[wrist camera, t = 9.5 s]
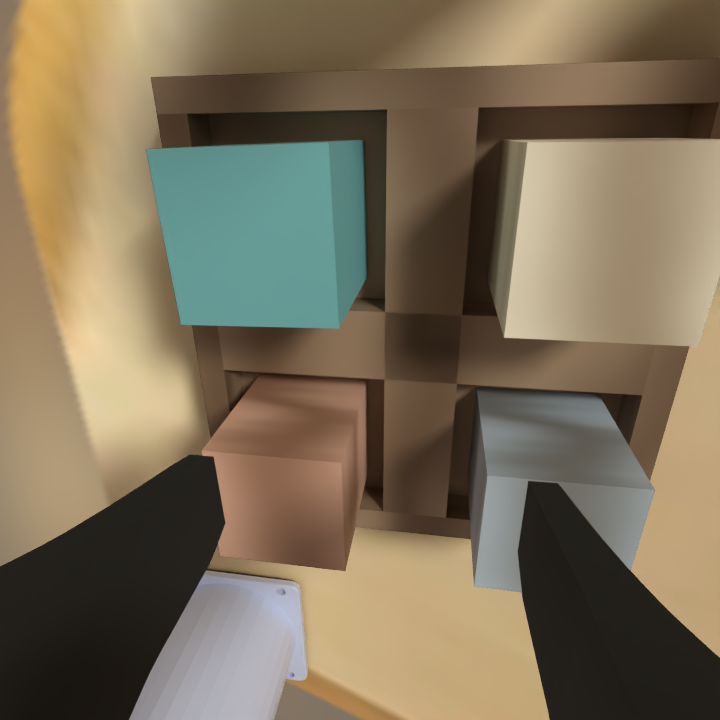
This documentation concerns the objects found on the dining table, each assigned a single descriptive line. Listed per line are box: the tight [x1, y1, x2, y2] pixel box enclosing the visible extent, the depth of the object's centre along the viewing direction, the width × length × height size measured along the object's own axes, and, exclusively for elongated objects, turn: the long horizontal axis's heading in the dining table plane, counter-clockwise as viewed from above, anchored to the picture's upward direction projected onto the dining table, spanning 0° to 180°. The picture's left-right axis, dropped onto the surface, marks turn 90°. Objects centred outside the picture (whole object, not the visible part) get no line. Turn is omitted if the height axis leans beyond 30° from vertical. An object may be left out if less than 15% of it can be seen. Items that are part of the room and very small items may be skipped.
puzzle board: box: [151, 59, 720, 592], centre depth 16 cm, size 17×17×6 cm
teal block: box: [146, 140, 368, 329], centre depth 15 cm, size 4×4×6 cm
